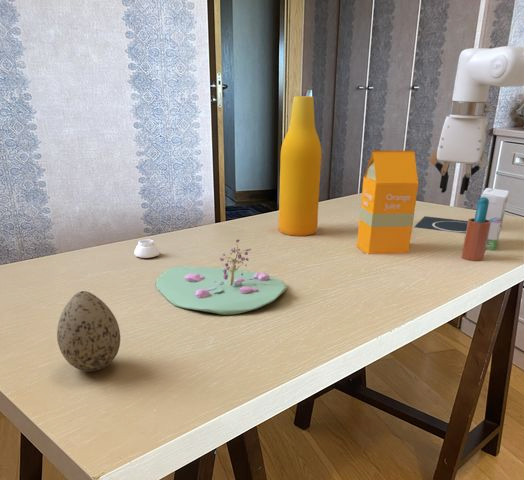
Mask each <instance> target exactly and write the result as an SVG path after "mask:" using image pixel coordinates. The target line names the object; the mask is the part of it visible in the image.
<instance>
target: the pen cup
mask: <svg viewBox="0 0 524 480" xmlns="http://www.w3.org/2000/svg"><path fill="white" fill-rule="evenodd" d="M474 219H475V217H472V218H469V219H468V220H467V221H468V224H467V229H466V234H465V233H464V240H463V246H462V251H461V258H462V259H463V260H466V261H468V262H469V261H470V262H482V261H484V259H485V253H486V250H485V249H486V245H487V240H488V235H489V230H490V226H491V221H490V220H487V219H486V220H485V223H478V222H474Z"/></svg>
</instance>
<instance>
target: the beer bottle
mask: <svg viewBox="0 0 524 480" xmlns="http://www.w3.org/2000/svg"><path fill="white" fill-rule="evenodd" d="M314 100H315V99H314V96H312V95H311V96H310V95H294V96H293V100H292V107H291V115H290V123H289V126H288V130H287V133H286V134H285V136H284V139H283V141H282V144H281V149H280V163H279V165H280V167H279V168H280V169H279V170H280V171H279V198H278V199H279V200H278V201H279V205H278V206H279V207H278V222H277V223H278V224H277V225H278V231H279V232H280V233H281V234H283V235H287V236H292V237H293V236H296V237H302V236H303V237H304V236H305V237H306V236H311V235H315V233H316V232H317V230H318V226H319V225H318V224H319V202H320V183H321V170H322V169H321V168H322V157H323V156H322V155H323V153H322V144H321V142H320V141H321V140H320V138H319V136H318V132H317V129H316V123H315V121H316V120H315V101H314Z"/></svg>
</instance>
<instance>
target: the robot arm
mask: <svg viewBox="0 0 524 480" xmlns="http://www.w3.org/2000/svg"><path fill="white" fill-rule="evenodd" d="M454 79H455V80H454V86H453V91H452V98H451V105H450V110H449V115H447V116H445V120H444V122H443V125H442V130H441V133H440V136H439V142H438V144H437V145H438V146H437V147H436V149H435V151H434V152H433V153H432V154H431V156H430V157H429V158H428V162H429V163H430V164H431V165H433V166H434V167H435V168H436V169H437V171H438V172H439V174H440V175H441V177H440V182H439V189H441V194H444V193H446V192H447V189H448V183H449V177H450V175H449V168H450V165H451V163H452V164H453V163H454V164H465V173H464V175H463V177H462V179H461V185H460V191H459V194H460V196H461V195H462V196H463V195H464V194H465V192H467V191H469V190H468V189H469V184H470V180H471V177H472V176H473V175H475V174H476V173H477V172H478V171H481V170H483V169H485V168H487V167H488V166H489V165H490V162H489V158H488V156H487V154H486V151H485V146H486V140H487V135H488V134H487V132H488V117H485V116H486V114H488V113H492V112H493V109H494V108H493V107H494V105H489V104H488V99H489V98H488V97H489V91H490V89H491V86H492V87H499V88H500V87H501V88H502V87H503V88H508V87H513V88H514V87H515V88H517V87H523V86H524V46H513V45H504V46H497V47H493V48H492V47H491V48H488V47H487V48H485V47H475V48H473V47H472V48H471V47H469V48H465V49H463V50H462V51H461V52H460V54H459V57H458V62H457V68H456V74H455V78H454ZM479 162H480V163H479ZM474 164H476V165H475V166H473V165H474Z"/></svg>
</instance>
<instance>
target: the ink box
mask: <svg viewBox="0 0 524 480" xmlns="http://www.w3.org/2000/svg"><path fill="white" fill-rule="evenodd" d="M509 193H510V190H506V189H498V188H491V187H485V189H484V190H483V191H482V194H481V196H480V198H482V197H486V198H488V200H489V205H488V210H487V215H486V219H487V220H490V221H491V226H490V230H489V235H488V240H487V245H486V249H485V251H494V252H495V251H496V248H497V246H498V242H499V238H500V235H501V230H502V226H503V221H504V217H505V212H506V208H507V202H508V198H509Z"/></svg>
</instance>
